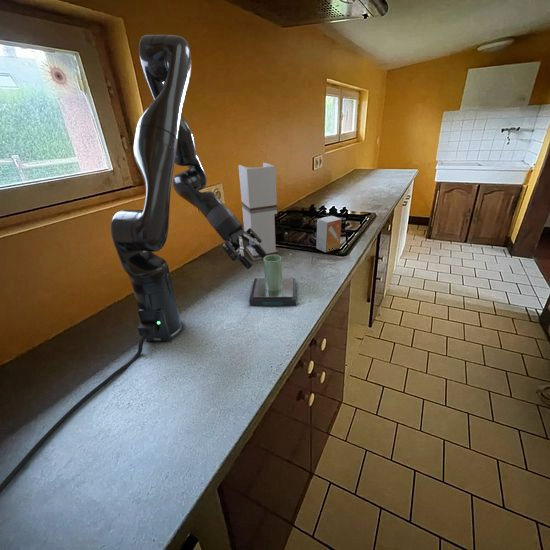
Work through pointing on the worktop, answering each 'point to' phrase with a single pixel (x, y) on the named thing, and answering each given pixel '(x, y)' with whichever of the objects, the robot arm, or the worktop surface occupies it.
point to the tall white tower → (259, 205)
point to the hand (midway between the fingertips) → (257, 261)
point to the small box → (328, 233)
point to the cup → (273, 272)
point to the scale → (273, 293)
